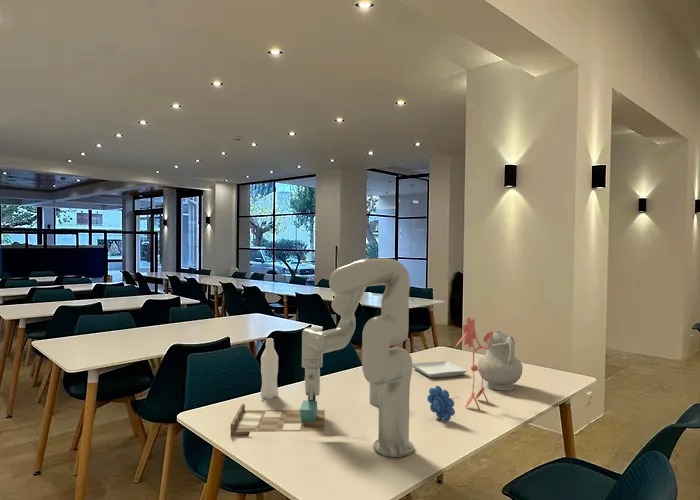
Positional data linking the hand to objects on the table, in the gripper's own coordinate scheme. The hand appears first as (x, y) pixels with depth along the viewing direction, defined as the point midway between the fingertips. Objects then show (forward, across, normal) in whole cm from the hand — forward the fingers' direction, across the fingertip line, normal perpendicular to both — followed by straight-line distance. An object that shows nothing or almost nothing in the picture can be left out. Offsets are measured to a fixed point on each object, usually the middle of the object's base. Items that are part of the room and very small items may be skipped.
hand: (311, 412), depth 172 cm
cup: (+3, +18, -27) cm, 32 cm away
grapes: (+3, -1, -47) cm, 47 cm away
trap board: (+3, -4, +11) cm, 12 cm away
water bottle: (+3, +23, +18) cm, 29 cm away
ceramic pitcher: (+3, +37, -84) cm, 91 cm away
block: (0, -4, +1) cm, 4 cm away
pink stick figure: (+3, +17, -63) cm, 65 cm away
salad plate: (+3, +62, -61) cm, 87 cm away
